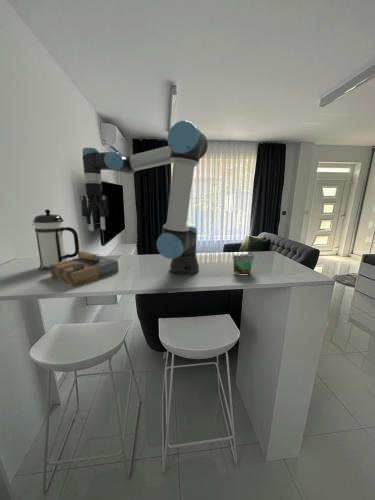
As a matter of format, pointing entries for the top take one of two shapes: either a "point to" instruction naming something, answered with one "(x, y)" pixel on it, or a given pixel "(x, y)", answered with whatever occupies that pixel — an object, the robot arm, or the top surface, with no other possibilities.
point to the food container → (243, 263)
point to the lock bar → (89, 256)
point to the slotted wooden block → (83, 270)
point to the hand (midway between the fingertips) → (97, 229)
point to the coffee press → (52, 239)
